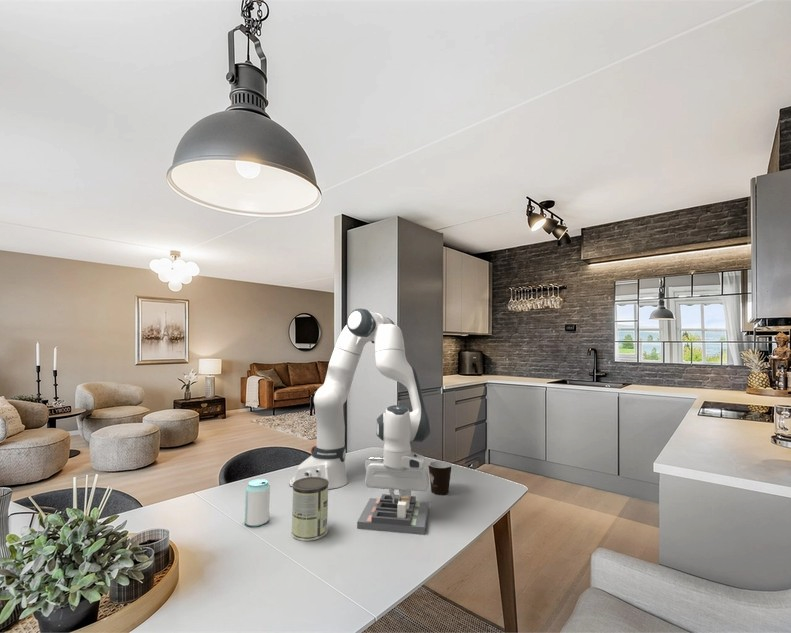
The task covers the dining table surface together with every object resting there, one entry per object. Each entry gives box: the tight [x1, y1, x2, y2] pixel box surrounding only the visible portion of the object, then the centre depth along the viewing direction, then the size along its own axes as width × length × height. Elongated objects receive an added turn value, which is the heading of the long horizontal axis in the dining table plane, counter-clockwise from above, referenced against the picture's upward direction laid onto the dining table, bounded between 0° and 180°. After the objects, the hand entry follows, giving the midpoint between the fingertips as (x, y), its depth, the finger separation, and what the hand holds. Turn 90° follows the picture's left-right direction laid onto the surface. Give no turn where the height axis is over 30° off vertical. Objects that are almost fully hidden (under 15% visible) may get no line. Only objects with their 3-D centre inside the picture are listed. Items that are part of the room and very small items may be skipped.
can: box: [244, 478, 271, 527], centre depth 119 cm, size 7×7×12 cm
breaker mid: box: [401, 493, 410, 509], centre depth 123 cm, size 2×2×5 cm
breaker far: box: [403, 490, 412, 501], centre depth 129 cm, size 2×2×5 cm
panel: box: [356, 493, 429, 535], centre depth 123 cm, size 20×18×4 cm
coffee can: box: [291, 477, 329, 542], centre depth 114 cm, size 10×10×14 cm
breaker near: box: [397, 501, 406, 519], centre depth 117 cm, size 2×2×5 cm
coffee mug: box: [428, 460, 452, 496], centre depth 147 cm, size 12×9×10 cm
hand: (396, 503), depth 123 cm, fingers closed
